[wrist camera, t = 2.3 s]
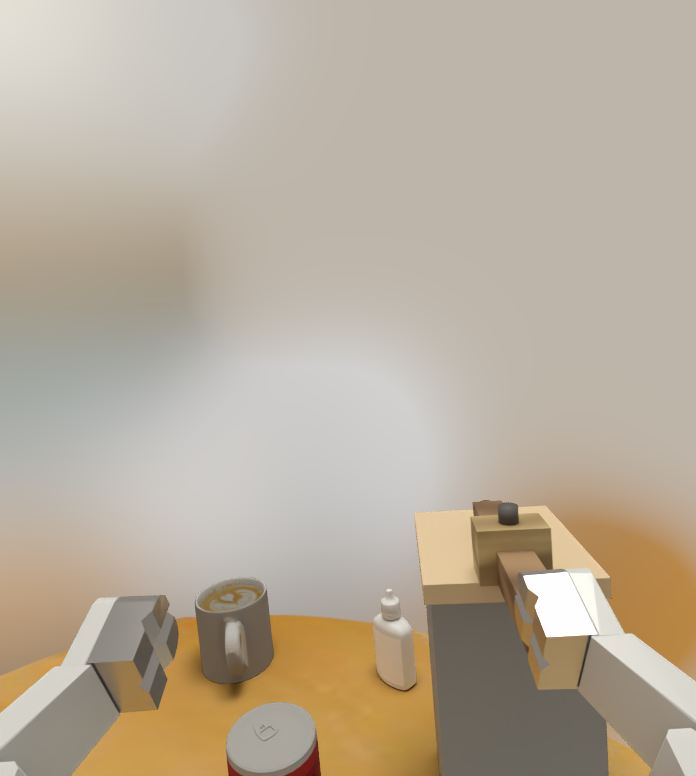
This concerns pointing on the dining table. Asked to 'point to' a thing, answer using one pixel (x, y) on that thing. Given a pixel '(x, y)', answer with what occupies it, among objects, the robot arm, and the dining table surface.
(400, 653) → the eye dropper bottle
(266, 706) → the canned food
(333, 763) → the dining table surface
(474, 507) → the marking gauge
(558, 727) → the stand
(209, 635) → the coffee mug
